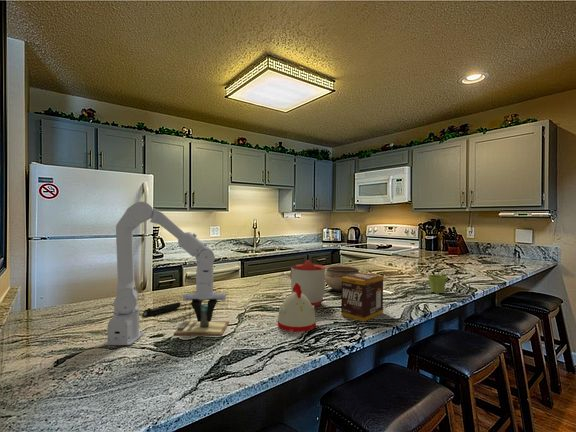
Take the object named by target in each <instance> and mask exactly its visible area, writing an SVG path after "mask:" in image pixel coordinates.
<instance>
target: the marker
mask: <svg viewBox="0 0 576 432" xmlns="http://www.w3.org/2000/svg"><path fill="white" fill-rule="evenodd" d="M208 326H209V322H208V304H201V306H200V327H208Z"/></svg>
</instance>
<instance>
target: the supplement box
mask: <svg viewBox="0 0 576 432" xmlns="http://www.w3.org/2000/svg"><path fill="white" fill-rule="evenodd" d="M340 307H341V311H340V312H341V315H340V316H341V317H342V316H343V317H346V318H350V319H352V320H356V321H359V320H360V322H366V321H368V319H369V320H371V319H373V318H375V317H377V315H378V316H380V315H382V314H384V276H383V275H380V274H376V273H375V274H373V273H368V272H367V273H366V272H359V273H357V274H353V275H349V276H344V277H342V292H341V306H340ZM381 313H382V314H381ZM379 314H380V315H379ZM374 316H375V317H374ZM370 318H371V319H370Z"/></svg>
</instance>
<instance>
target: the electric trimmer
mask: <svg viewBox="0 0 576 432" xmlns="http://www.w3.org/2000/svg"><path fill="white" fill-rule="evenodd" d="M180 307H181V302H180V301H178V302H175V303H170V304H163V305H160V306H158V307H154V308H153V307H152V308H150V307H148V308H147V309H144V311H143V313H142V317H144V318H149V317H151V316H154V315H157V314H162V313H168V312H172V311H174V310H176V309H179V308H180Z"/></svg>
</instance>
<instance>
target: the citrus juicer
mask: <svg viewBox="0 0 576 432" xmlns="http://www.w3.org/2000/svg"><path fill="white" fill-rule="evenodd" d="M325 274H326V266H324V265H321V264H313V262H312V261H311V260H310V259H307V260H305V262H304V263H301V264H300V263H299V264H298V263H297V264H295V266H294V267H292V266H291V267H290V273H288V274H287V278H290V282H291V284H290V285H291V288H290V289H291V294H292V293H293V288H294V285H295V283H298V284H299V286H301V290H302V294H304V295H305V296H306V297H307V298H308V300H309V301H310V303H311V305H312V306H314V308H316V307H319V306H321V305H322V302H323V298H324V295H325V286H326V281H325Z"/></svg>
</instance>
